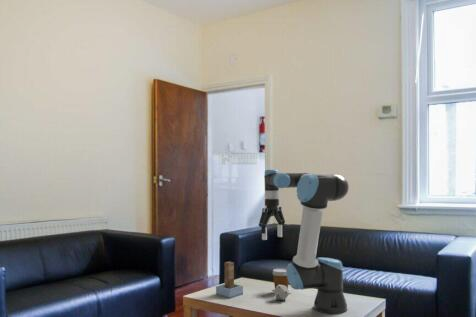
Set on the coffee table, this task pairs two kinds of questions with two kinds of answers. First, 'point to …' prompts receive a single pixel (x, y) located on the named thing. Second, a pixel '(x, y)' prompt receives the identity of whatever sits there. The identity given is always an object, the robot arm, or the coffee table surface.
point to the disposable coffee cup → (280, 277)
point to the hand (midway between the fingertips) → (272, 238)
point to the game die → (281, 292)
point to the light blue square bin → (229, 291)
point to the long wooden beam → (229, 275)
